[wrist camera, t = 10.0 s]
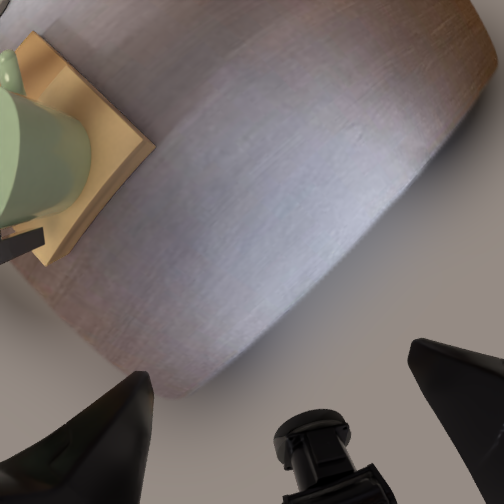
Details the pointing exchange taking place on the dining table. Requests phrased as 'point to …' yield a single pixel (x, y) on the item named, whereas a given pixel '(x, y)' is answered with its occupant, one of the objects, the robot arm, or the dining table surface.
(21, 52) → the stand
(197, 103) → the dining table surface
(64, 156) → the kettle
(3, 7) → the travel mug
